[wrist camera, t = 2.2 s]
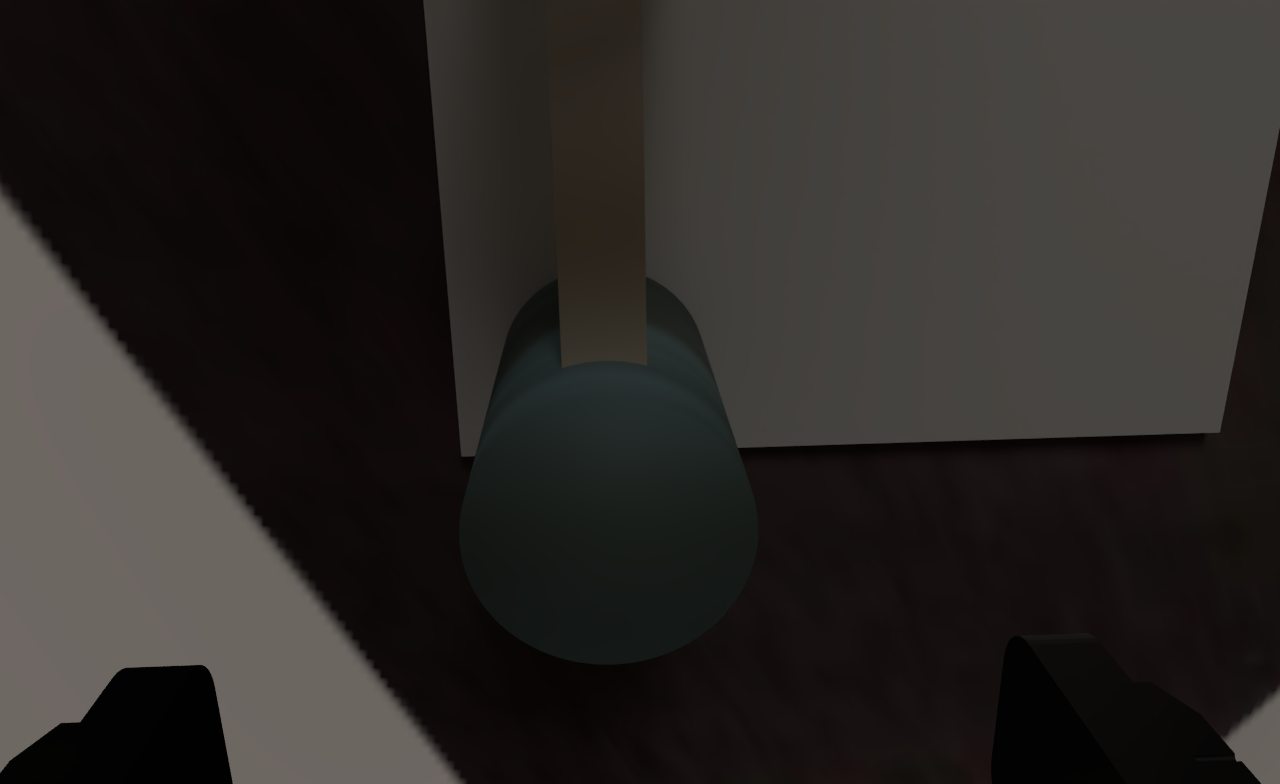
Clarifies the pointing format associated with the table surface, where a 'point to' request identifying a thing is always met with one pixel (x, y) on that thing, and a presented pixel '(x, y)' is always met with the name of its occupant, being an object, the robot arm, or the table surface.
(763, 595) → the table surface
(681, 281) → the card
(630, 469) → the teal cylinder with tab
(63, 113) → the table surface
